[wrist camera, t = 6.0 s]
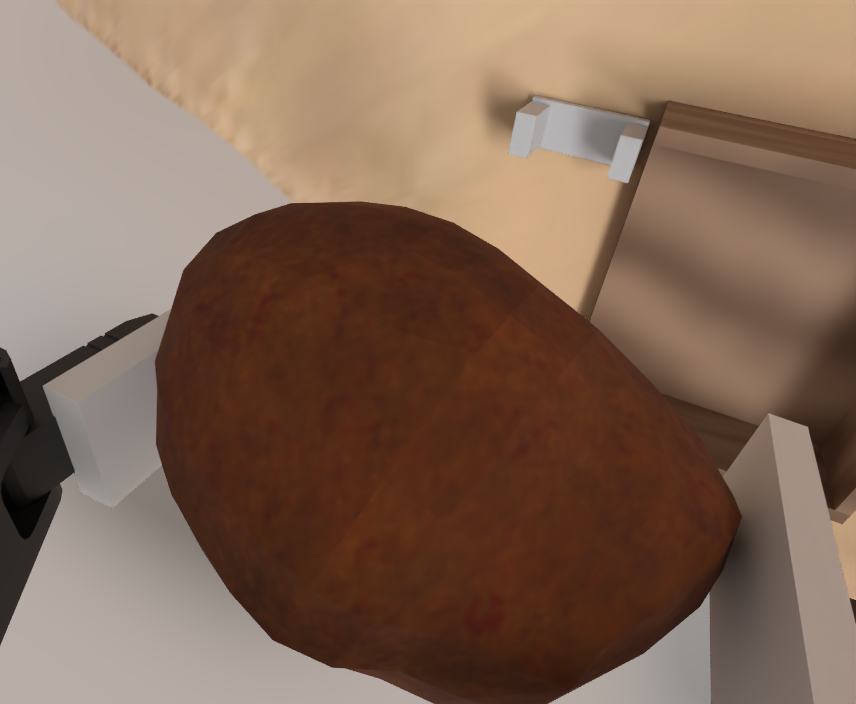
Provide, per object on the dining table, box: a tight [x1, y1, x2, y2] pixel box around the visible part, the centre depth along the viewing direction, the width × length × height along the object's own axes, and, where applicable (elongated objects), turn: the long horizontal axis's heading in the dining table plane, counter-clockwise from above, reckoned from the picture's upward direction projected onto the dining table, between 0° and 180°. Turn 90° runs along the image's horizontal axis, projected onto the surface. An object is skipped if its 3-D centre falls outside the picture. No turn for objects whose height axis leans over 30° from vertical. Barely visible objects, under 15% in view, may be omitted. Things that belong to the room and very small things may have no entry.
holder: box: [589, 101, 856, 524], centre depth 27 cm, size 16×15×6 cm
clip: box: [508, 95, 651, 183], centre depth 27 cm, size 2×6×4 cm, turn 83°
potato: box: [155, 202, 742, 704], centre depth 10 cm, size 8×12×8 cm, turn 64°
